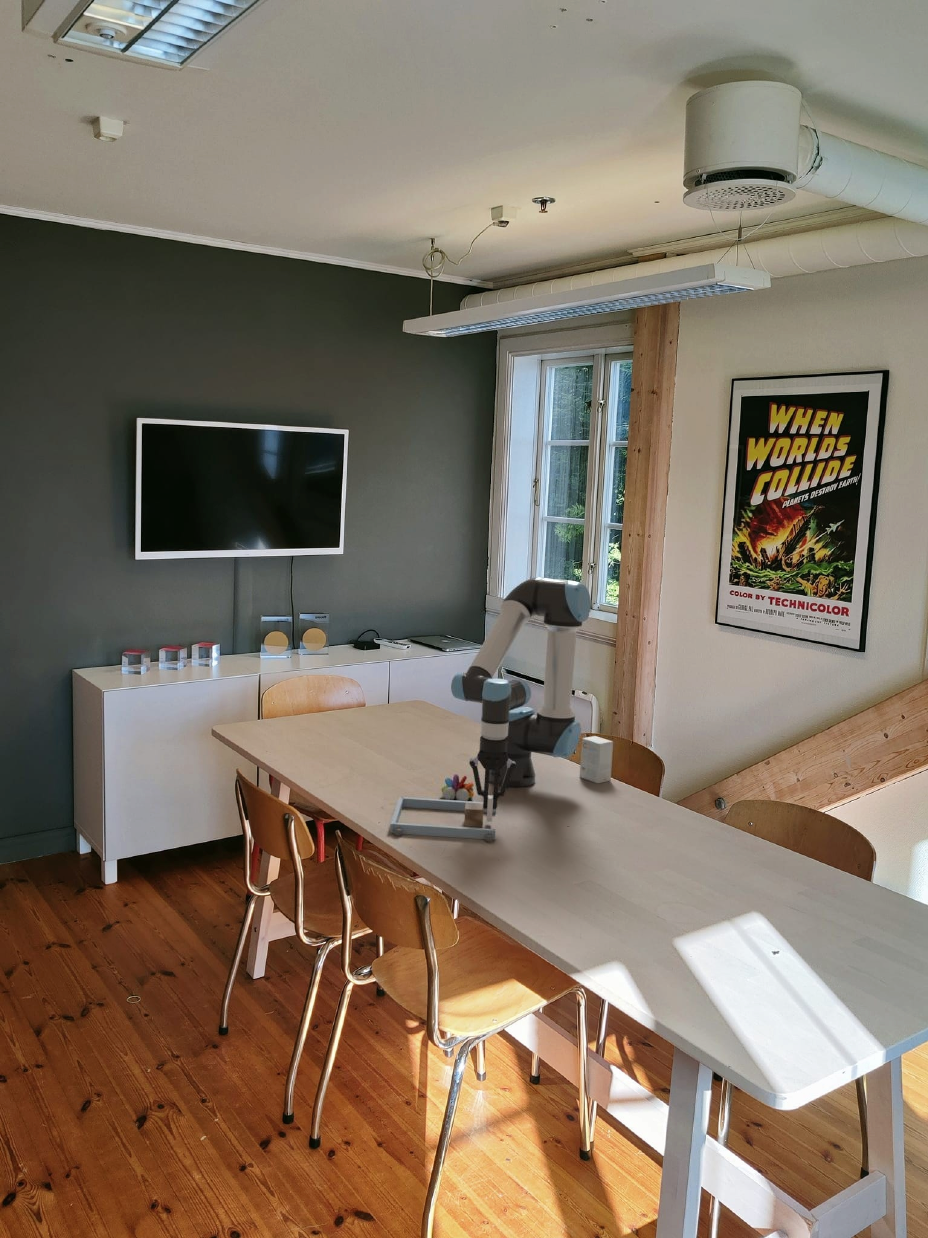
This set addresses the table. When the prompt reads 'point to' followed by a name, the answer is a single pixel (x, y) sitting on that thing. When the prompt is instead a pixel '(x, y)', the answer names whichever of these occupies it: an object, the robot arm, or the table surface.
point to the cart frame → (436, 829)
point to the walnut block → (473, 815)
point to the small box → (596, 759)
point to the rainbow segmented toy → (457, 789)
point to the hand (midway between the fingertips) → (489, 819)
